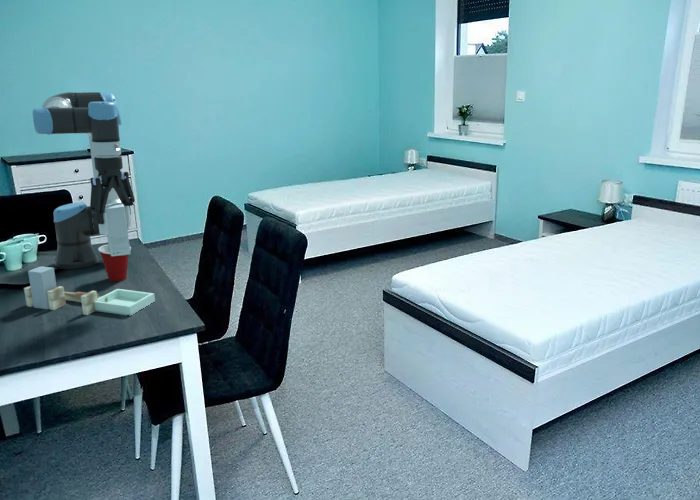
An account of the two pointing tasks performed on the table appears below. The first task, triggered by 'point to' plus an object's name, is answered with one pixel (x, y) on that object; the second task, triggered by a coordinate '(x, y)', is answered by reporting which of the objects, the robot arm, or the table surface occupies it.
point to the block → (41, 285)
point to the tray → (124, 302)
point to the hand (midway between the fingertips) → (116, 230)
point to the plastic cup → (114, 264)
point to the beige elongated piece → (67, 298)
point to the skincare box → (117, 230)
